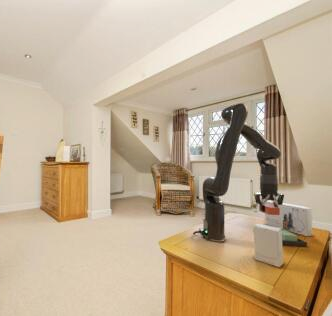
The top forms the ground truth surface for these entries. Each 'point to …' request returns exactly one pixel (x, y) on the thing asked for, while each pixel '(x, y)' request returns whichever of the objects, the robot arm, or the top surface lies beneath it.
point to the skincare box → (291, 218)
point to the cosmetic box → (268, 244)
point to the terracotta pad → (271, 210)
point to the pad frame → (295, 243)
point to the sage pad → (288, 236)
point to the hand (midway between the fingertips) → (268, 211)
